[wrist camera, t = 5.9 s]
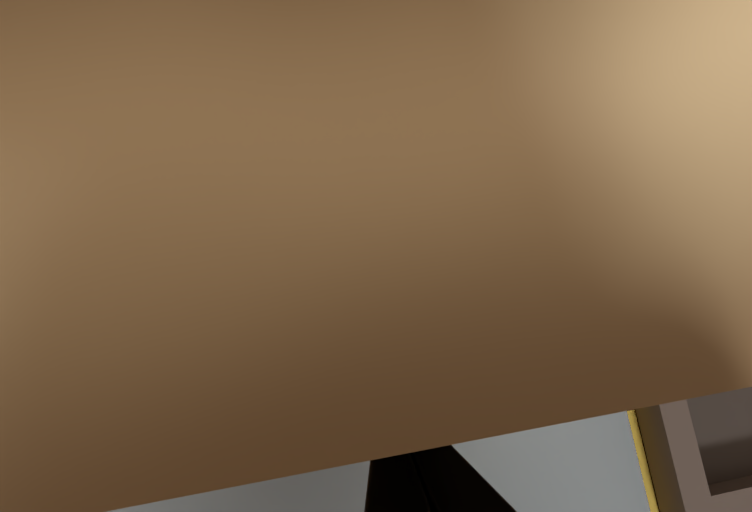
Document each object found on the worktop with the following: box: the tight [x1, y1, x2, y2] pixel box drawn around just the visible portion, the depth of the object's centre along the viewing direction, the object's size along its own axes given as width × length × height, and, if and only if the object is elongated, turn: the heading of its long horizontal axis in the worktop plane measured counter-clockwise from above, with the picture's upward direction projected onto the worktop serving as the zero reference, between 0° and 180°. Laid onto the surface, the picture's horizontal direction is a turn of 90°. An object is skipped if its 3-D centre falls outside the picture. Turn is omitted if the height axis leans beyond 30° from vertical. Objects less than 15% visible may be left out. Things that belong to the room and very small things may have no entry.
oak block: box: [0, 0, 752, 512], centre depth 12 cm, size 10×12×10 cm
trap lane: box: [106, 387, 752, 512], centre depth 16 cm, size 25×32×3 cm
